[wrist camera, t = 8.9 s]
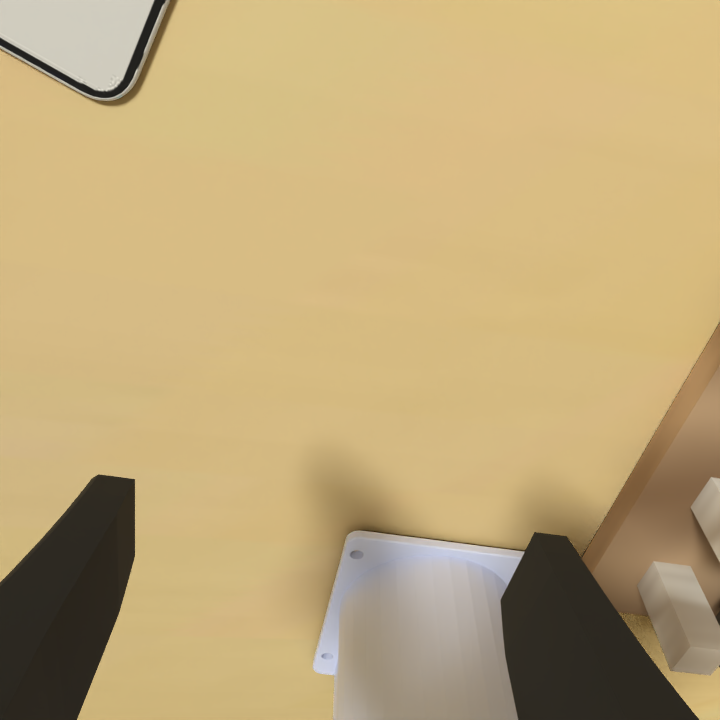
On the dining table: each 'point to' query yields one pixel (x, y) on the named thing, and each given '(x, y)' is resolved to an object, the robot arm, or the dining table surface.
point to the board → (672, 527)
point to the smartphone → (83, 40)
